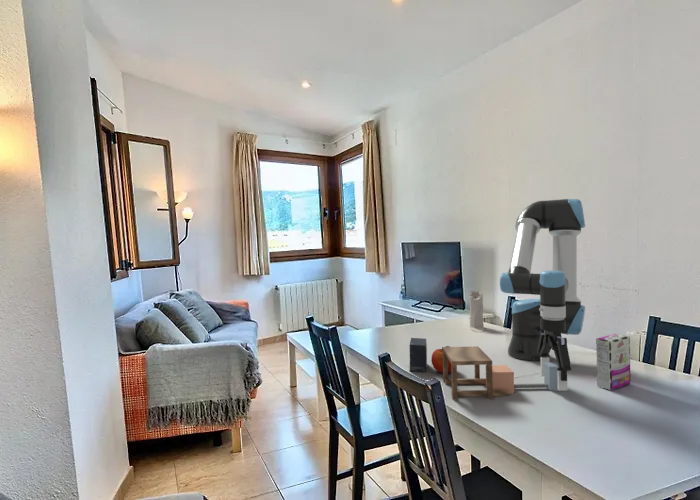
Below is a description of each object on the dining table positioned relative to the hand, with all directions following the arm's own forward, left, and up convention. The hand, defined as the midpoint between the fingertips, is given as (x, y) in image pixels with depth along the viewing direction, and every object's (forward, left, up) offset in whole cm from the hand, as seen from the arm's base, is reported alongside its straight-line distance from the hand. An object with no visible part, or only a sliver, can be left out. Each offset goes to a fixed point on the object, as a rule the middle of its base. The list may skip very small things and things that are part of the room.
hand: (553, 382), depth 136 cm
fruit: (+32, -18, -2) cm, 37 cm away
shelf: (+26, 0, -2) cm, 26 cm away
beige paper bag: (+2, -83, -2) cm, 83 cm away
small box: (+42, -23, -2) cm, 47 cm away
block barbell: (+10, 0, -2) cm, 10 cm away
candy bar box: (-20, -2, -2) cm, 20 cm away
